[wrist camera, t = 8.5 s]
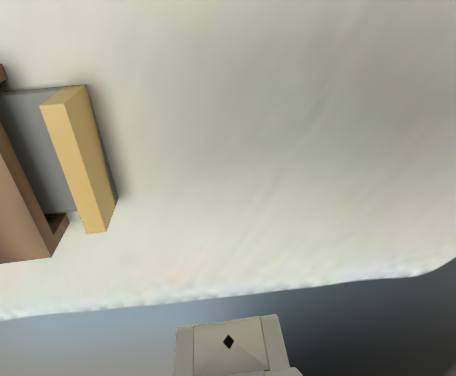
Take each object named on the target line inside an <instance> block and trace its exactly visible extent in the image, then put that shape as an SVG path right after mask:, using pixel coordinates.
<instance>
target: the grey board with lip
mask: <svg viewBox="0 0 456 376" xmlns="http://www.w3.org/2000/svg"><path fill="white" fill-rule="evenodd" d="M0 122H1V124H2V126H3V128H4V130H5V133H6V135H7V137H8V139H9V141H10V143H11V145H12V148H13V150H14V152H15V154H16V156H17V158H18V160H19V163H20V165H21V167H22V169H23V171H24V173H25V175H26V178H27V180H28V182H29V184H30V186H31V188H32V190H33V193H34V195H35V197H36V199H37V201H38V203H39V205H40V208H41V210H42V212H43V214H50V213H59V212H69V211H78V213H79V215H80V218H81V221H82V223H83V226H84V229H85V231H86V234H91V233H100V232H106V231H107V228H108V226H109V223H110V220H111V217H112V215H113V212H114V209H115V206H116V204H117V201H118V195H117V191H116V188H115V184H114V181H113V178H112V174H111V171H110V167H109V164H108V160H107V157H106V153H105V150H104V146H103V143H102V139H101V136H100V132H99V129H98V125H97V122H96V119H95V115H94V112H93V108H92V105H91V101H90V98H89V94H88V91H87V87H86V85H75V86H64V87H54V88H43V89H32V90H21V91H11V92H0Z"/></svg>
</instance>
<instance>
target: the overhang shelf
mask: <svg viewBox="0 0 456 376" xmlns="http://www.w3.org/2000/svg"><path fill="white" fill-rule="evenodd" d="M6 79H8V78H7V75H6V73H5V71H4V68H3V66H2V64H0V82H2V81H4V80H6ZM68 225H69V221H68V219H67V217H66V215H58V216H50V217H45V216H44V214H43V212H42V210H41V208H40V205H39V203H38V201H37V199H36V197H35V195H34V193H33V190H32V188H31V186H30V184H29V182H28V180H27V178H26V175H25V173H24V171H23V169H22V167H21V165H20V163H19V160H18V158H17V156H16V154H15V152H14V150H13V148H12V145H11V143H10V141H9V139H8V137H7V135H6V133H5V130H4V128H3V126H2V124H1V122H0V264H3V263H10V262H18V261H26V260H34V259H41V258H49V257H52V255H53V253H54V251H55V250H56V248H57V246H58V244H59V242H60V240H61V238H62V236H63V234H64V233H65V231H66V229H67V227H68Z"/></svg>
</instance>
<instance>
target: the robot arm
mask: <svg viewBox="0 0 456 376" xmlns="http://www.w3.org/2000/svg"><path fill="white" fill-rule="evenodd" d="M173 376H303V375H302V374H301V373H300V372H299V371H298V370H297V369H296V368H294V367H293V368H290V366H289V362H288V358H287V353H286V350H285V345H284V341H283V337H282V332H281V328H280V324H279V320H278V317H277V315H276V314H275V315H268V316H261V317H259V316H257V317H250V318H243V319H236V320H229V321H226V322H217V323H208V324H199V325H190V326H182V327H178V328H177V332H176V342H175V357H174V372H173Z"/></svg>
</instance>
